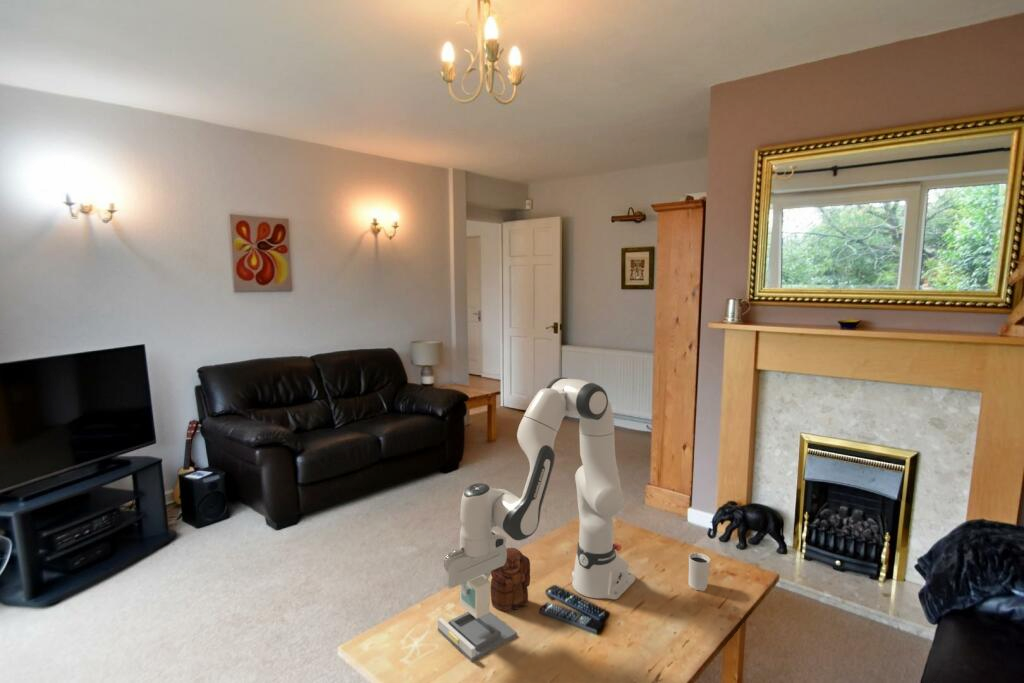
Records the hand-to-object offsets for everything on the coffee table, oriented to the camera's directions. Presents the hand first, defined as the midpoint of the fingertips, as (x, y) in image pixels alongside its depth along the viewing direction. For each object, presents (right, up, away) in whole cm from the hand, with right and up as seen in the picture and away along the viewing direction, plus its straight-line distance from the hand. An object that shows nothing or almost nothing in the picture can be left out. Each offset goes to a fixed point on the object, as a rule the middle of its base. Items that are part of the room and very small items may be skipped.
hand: (474, 589), depth 147 cm
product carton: (0, -6, +1) cm, 6 cm away
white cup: (+72, -12, +28) cm, 78 cm away
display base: (+1, -13, +2) cm, 14 cm away
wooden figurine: (+10, -12, +16) cm, 22 cm away
